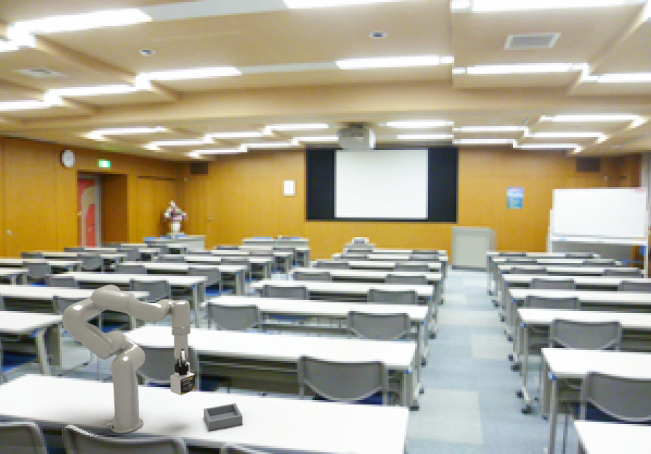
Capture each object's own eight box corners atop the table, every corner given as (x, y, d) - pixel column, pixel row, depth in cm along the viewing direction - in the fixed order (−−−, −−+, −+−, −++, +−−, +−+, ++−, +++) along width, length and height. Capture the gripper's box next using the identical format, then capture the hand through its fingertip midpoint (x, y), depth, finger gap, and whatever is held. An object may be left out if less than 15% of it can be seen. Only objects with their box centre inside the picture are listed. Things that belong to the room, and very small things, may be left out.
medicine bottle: (180, 395, 195) (180, 367, 194) (170, 391, 199) (169, 363, 199) (195, 390, 201) (194, 362, 200) (184, 386, 205) (184, 359, 204)
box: (208, 431, 196) (208, 422, 196) (203, 417, 209) (203, 408, 209) (242, 425, 201) (242, 415, 201) (235, 411, 214) (235, 403, 214)
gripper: (169, 326, 205) (171, 367, 206) (173, 336, 189) (174, 380, 190) (187, 324, 208) (189, 364, 209) (192, 334, 192) (194, 378, 193)
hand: (182, 372), depth 200 cm, fingers closed on medicine bottle, 6 cm apart
